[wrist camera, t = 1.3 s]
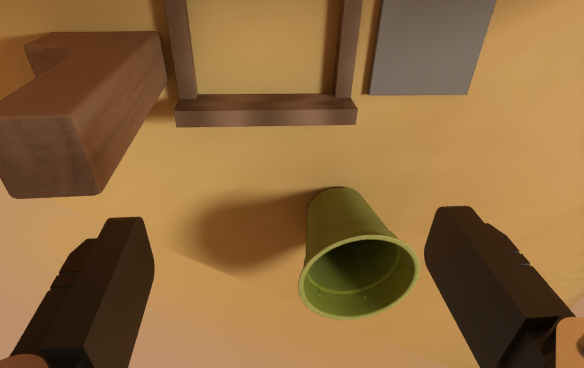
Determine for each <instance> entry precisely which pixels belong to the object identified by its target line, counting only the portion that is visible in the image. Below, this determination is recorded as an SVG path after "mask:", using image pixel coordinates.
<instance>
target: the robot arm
mask: <svg viewBox="0 0 584 368" xmlns="http://www.w3.org/2000/svg"><path fill="white" fill-rule="evenodd" d="M424 258H425V263H426V266H427V269H428V271H429V272H430V274H431V276H432V278H433V280H434V282H435V284H436V286H437V287H438V289H439V291H440V293H441V295H442V297H443V299H444V301H445V303H446V304H447V306H448V308H449V310H450V312H451V314H452V316H453V318H454V319H455V321H456V323H457V325H458V327H459V329H460V331H461V333H462V335H463V336H464V338H465V340H466V342H467V344H468V346H469V348H470V350H471V351H472V353H473V355H474V357H475V359H476V361H477V363H478V365H479V366H480V368H584V318H581V317H576V316H575V315H574V314H573V313H572V312H571V310H570V309H569V308H568V307H567V306H566V305H565V303H564V302H563V301H562V300H561V299H560V298H559V296H558V295H557V294H556V293H555V292H554V291H553V289H552V288H551V287H550V286H549V285H548V284H547V282H546V281H545V280H544V279H543V278H542V277H541V275H540V274H539V273H538V272H537V271H536V270H535V268H534V267H533V266H530V263H529V261H528V260H527V259H526V258H525V257H524V256H523V254H520V253H519V250H518V249H517V247H516V246H515V245H514V244H513V243H512V242H511V240H510V239H509V238H508V237H507V236H506V235H505V234H503V233H502V232H500V231H499V230H497V229H496V228H495V227H493V226H492V225H490V224H489V223H484V222H483V221H482V220H481V219H480V217H479V216H478V215H477V214H476V212H475V211H474V210H473V209H472V208H471V207H469V206H447V207H440V208H438V209H437V211H436V213H435V216H434V219H433V223H432V226H431V229H430V232H429V235H428V238H427V241H426V244H425V249H424ZM153 279H154V258H153V254H152V250H151V247H150V243H149V239H148V236H147V232H146V228H145V224H144V221H143V219H142V218H141V217H121V218H109V219H108V220H107V221H106V222H105V224H104V226H103V228H102V230H101V232H100V234H99V236H98V238H96V239H86V240H85V241H84V242H83V243H82V244H81V245H79V246H78V247H77V248H76V249H75V250H74V251H73V252H71V253H70V254H69V256H68V257H67V259H66V261H65V263H64V264H63V266H62V268H61V269H60V271H59V275H58V276H56V278H55V280H54V281H53V283H52V285H51V287H50V288H51V289H50V291H48V292H47V293H46V295H45V297H44V299H43V300H42V302H41V304H40V305H39V307H38V309H37V311H36V313H35V314H34V316H33V318H32V319H31V321H30V323H29V324H28V326H27V328H26V330H25V331H24V333H23V335H22V336H21V338H20V340H19V342H18V343H17V345H16V347H15V348H14V350H13V352H12V353H11V355H10V356H9V357H8V358H5V359H2V360H0V368H128V366H129V362H130V359H131V355H132V352H133V348H134V345H135V341H136V338H137V335H138V331H139V328H140V325H141V321H142V318H143V314H144V311H145V307H146V304H147V300H148V297H149V294H150V290H151V286H152V283H153Z"/></svg>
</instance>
